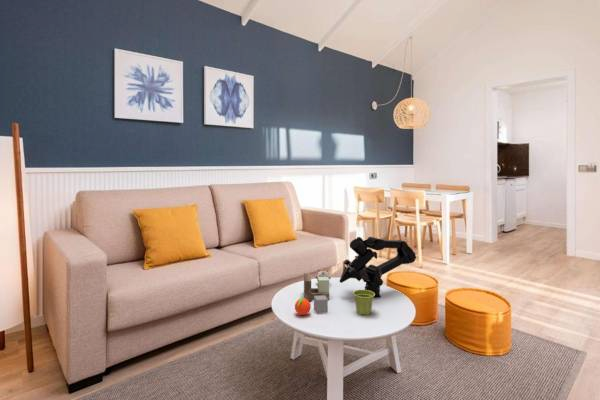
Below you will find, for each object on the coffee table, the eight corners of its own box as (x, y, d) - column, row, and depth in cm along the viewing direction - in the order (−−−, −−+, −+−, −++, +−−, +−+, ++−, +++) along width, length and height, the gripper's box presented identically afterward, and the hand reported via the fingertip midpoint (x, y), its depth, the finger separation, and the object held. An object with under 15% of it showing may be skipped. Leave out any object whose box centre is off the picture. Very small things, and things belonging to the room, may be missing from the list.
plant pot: (361, 318, 153) (361, 298, 152) (348, 310, 161) (348, 291, 160) (378, 314, 157) (379, 295, 156) (365, 306, 166) (365, 288, 165)
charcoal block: (324, 308, 164) (324, 295, 163) (327, 312, 159) (327, 299, 158) (313, 308, 163) (313, 296, 162) (316, 313, 158) (316, 300, 157)
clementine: (305, 320, 151) (305, 303, 150) (290, 316, 154) (290, 300, 153) (313, 313, 158) (313, 297, 157) (299, 310, 161) (299, 294, 160)
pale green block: (327, 294, 180) (328, 277, 179) (328, 298, 175) (329, 280, 174) (317, 294, 180) (318, 277, 179) (318, 298, 175) (318, 280, 174)
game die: (325, 290, 197) (335, 275, 198) (324, 290, 189) (335, 274, 190) (311, 281, 199) (321, 265, 200) (310, 280, 191) (320, 264, 192)
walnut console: (327, 292, 183) (327, 273, 182) (329, 301, 171) (329, 281, 170) (303, 292, 183) (303, 273, 182) (304, 301, 171) (304, 281, 170)
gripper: (379, 276, 167) (355, 300, 167) (369, 264, 185) (348, 286, 186) (362, 260, 166) (338, 284, 166) (354, 250, 184) (332, 272, 185)
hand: (340, 282), depth 176 cm, fingers closed
